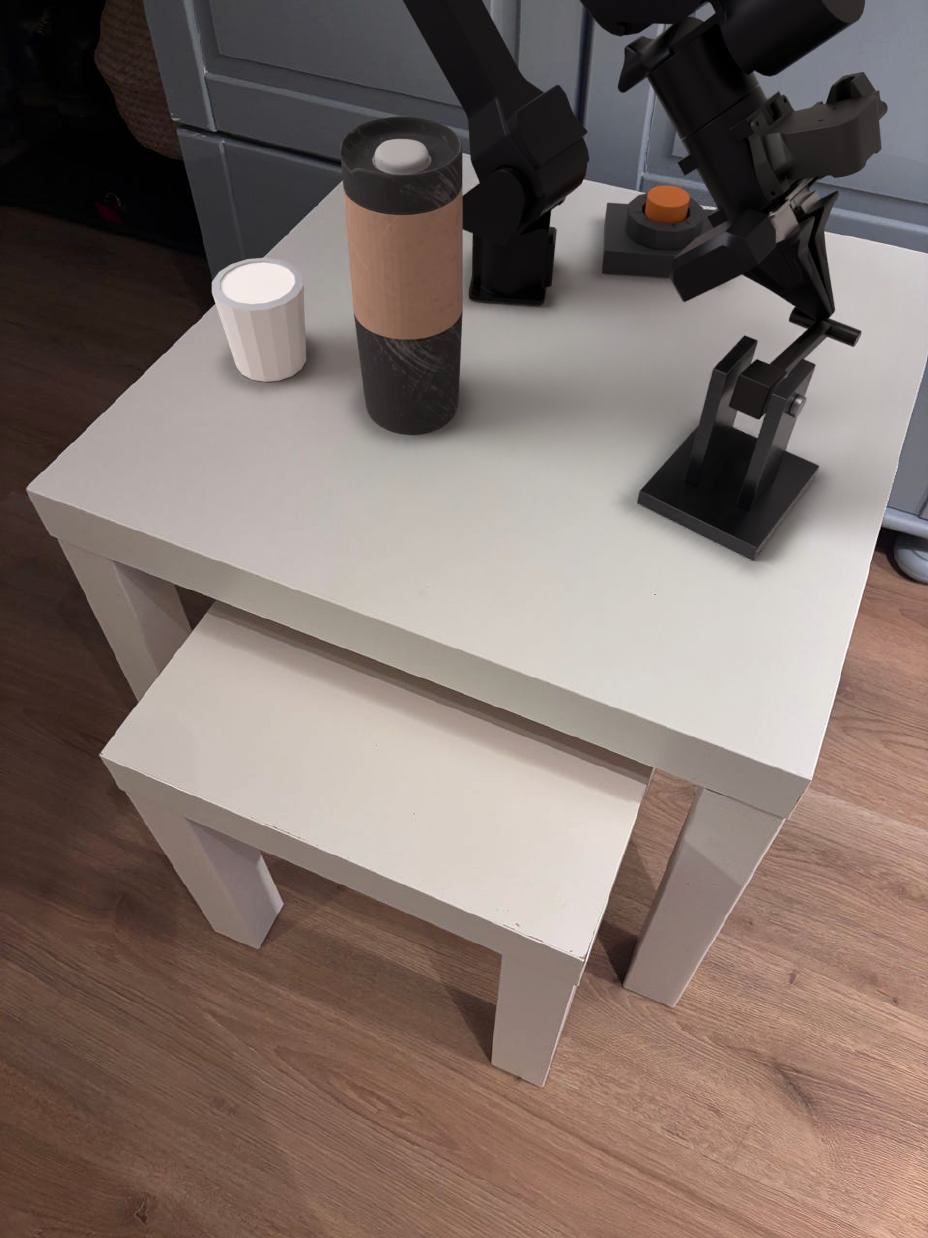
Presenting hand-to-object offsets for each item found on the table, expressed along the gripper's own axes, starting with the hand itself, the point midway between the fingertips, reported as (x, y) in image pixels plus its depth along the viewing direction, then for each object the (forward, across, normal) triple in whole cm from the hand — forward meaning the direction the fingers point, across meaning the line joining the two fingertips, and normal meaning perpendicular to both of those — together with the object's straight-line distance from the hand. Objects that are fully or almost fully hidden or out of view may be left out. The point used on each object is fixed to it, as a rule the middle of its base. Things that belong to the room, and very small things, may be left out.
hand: (827, 317), depth 69 cm
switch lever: (+1, -6, +1) cm, 6 cm away
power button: (-10, +12, +17) cm, 23 cm away
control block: (-8, +12, +19) cm, 24 cm away
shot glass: (-20, -20, +31) cm, 42 cm away
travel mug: (-11, -18, +22) cm, 31 cm away
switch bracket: (+6, -12, +6) cm, 14 cm away
